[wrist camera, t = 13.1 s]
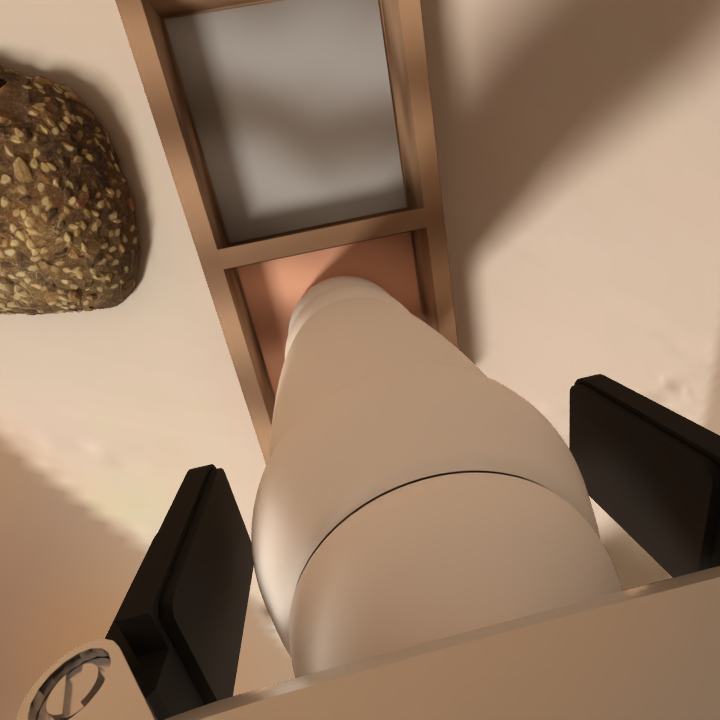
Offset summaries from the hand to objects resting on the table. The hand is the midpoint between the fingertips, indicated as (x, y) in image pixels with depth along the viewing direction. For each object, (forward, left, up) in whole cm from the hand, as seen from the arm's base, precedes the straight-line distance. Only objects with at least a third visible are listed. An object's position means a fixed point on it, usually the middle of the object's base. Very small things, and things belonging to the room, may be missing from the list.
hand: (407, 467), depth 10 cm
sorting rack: (0, -6, -17) cm, 18 cm away
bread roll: (+16, -11, -17) cm, 26 cm away
